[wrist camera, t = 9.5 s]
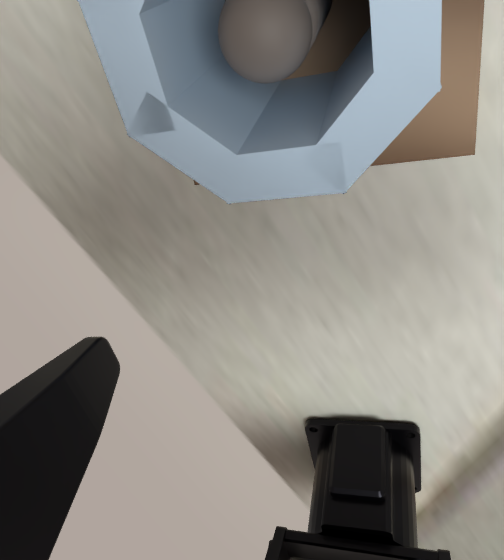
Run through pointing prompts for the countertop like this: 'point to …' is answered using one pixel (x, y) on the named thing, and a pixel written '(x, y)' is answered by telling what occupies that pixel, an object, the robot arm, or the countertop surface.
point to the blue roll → (263, 97)
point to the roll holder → (337, 47)
